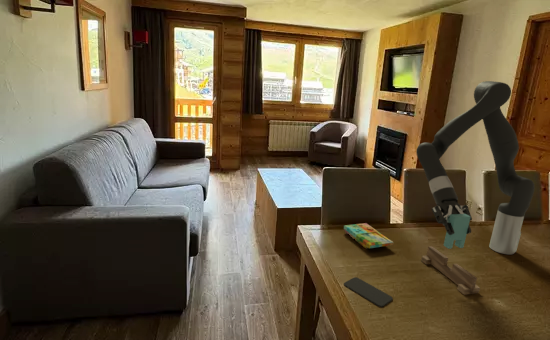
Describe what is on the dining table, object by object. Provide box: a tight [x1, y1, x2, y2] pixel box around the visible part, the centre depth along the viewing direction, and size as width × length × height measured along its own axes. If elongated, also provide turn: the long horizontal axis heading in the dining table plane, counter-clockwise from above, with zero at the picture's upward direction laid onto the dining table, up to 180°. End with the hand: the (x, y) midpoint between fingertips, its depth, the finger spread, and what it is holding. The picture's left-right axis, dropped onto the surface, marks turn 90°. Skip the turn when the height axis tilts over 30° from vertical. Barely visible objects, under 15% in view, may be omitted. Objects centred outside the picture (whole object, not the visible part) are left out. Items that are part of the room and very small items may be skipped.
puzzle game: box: [343, 222, 394, 249], centre depth 143 cm, size 12×5×20 cm
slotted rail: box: [420, 245, 481, 296], centre depth 119 cm, size 6×22×6 cm, turn 14°
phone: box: [343, 277, 394, 308], centre depth 108 cm, size 7×1×15 cm
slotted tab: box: [442, 214, 472, 249], centre depth 115 cm, size 6×2×12 cm, turn 104°
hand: (460, 233), depth 114 cm, fingers closed on slotted tab, 6 cm apart
